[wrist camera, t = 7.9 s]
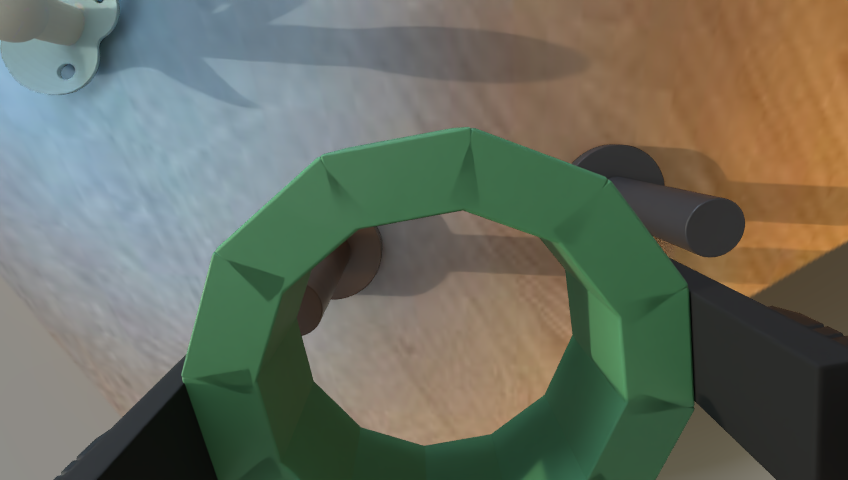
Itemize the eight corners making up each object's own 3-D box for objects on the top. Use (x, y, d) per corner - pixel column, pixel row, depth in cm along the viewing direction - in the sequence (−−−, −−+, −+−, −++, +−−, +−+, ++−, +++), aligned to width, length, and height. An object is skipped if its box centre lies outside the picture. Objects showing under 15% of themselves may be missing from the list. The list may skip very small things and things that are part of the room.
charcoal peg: (652, 135, 27) (791, 137, 17) (659, 232, 28) (791, 285, 19) (552, 154, 27) (634, 167, 17) (564, 251, 28) (645, 312, 19)
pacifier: (-8, 54, 25) (96, 111, 25) (-148, 26, 19) (-7, 101, 19) (38, -76, 24) (147, -13, 24) (-97, -153, 17) (53, -65, 18)
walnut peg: (370, 190, 27) (349, 222, 17) (391, 284, 28) (381, 362, 19) (272, 209, 27) (195, 252, 17) (297, 302, 29) (239, 389, 19)
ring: (605, 99, 12) (681, 87, 9) (634, 452, 15) (702, 550, 11) (199, 175, 12) (115, 193, 9) (299, 509, 15) (265, 623, 12)
